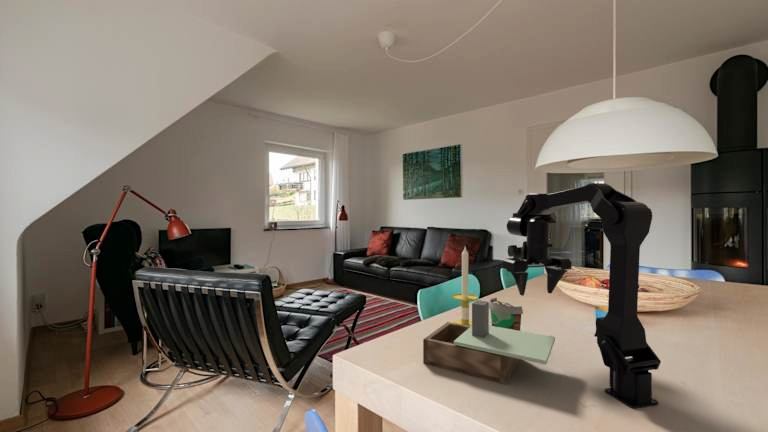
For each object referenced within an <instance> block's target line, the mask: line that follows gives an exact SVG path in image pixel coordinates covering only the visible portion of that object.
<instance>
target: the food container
mask: <svg viewBox="0 0 768 432" xmlns="http://www.w3.org/2000/svg"><path fill="white" fill-rule="evenodd" d="M497 298H498V297H492V298H490V299H489V301H488V302H489V312H490V321H491V326H495V327H501V328H507V329H512V330H518V331H521V326H522V323H521V321H522V315H523V314H524V312H523V311H524V310H523V306H520V305H519V306H514V305H512V304H510V303H508V302H502V301H499V300H498V299H497Z"/></svg>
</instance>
